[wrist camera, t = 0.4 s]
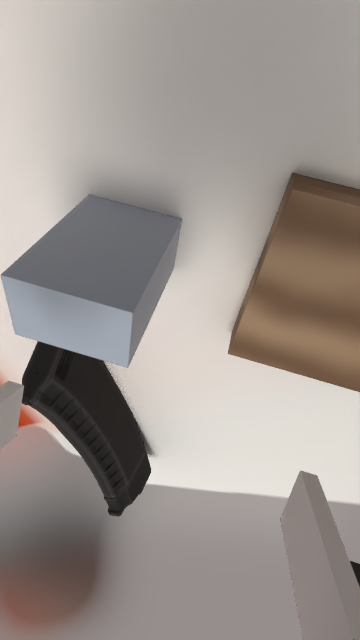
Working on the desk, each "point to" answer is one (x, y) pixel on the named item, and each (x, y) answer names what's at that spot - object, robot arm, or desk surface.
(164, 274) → the slate gray rectangular prism
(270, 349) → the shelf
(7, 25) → the desk surface
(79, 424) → the magazine
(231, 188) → the desk surface
